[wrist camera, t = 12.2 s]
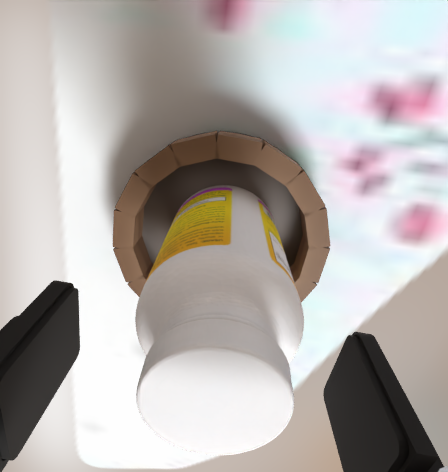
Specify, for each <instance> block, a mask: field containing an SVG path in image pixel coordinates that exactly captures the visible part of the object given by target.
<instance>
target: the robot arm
mask: <svg viewBox="0 0 448 472" xmlns="http://www.w3.org/2000/svg"><path fill="white" fill-rule="evenodd" d="M79 350H80V336H79V300H78V289H76V288H74V286H73V284H72V283H67V282H61V281H53V282H51V283H50V285H48V286H47V287H46V289H45V290H44V291H43V292H42V293H41V294H40V295H39V296H38V297H37V298H36V299H35V300H34V301H33V302H32V303H31V304H30V305H29V306H28V307H27V308H26V309H25V310H24V311H23V312H22V313H21V315H19V316H16V317H14V318H13V319H11V320H10V321H9V322H8V323H7V324H6V325H5V326H4V327H3V328H2V329H1V330H0V472H2V470H3V468H4V467H5V466H6V464H7V462H8V461H9V460H14V459H15V458H16V457H17V456H18V454H19V453H20V451H21V450H22V448H23V446H24V445H25V443H26V441H27V440H28V438H29V436H30V435H31V433H32V431H33V430H34V428H35V426H36V425H37V423H38V422H39V420H40V418H41V416H42V415H43V413H44V411H45V410H46V408H47V406H48V405H49V403H50V402H51V400H52V398H53V397H54V395H55V393H56V392H57V390H58V388H59V387H60V385H61V383H62V382H63V380H64V378H65V377H66V375H67V373H68V372H69V370H70V369H71V367H72V365H73V364H74V362H75V360H76V358H77V356H78V354H79ZM324 401H325V404H326V408H327V412H328V415H329V419H330V423H331V427H332V431H333V434H334V438H335V441H336V445H337V449H338V453H339V456H340V460H341V464H342V468H343V471H344V472H448V467H444V466H443V464H442V462H441V460H440V458H439V456H438V454H437V452H436V450H435V448H434V447H433V445H432V443H431V441H430V439H429V437H428V435H427V434H426V432H425V430H424V428H423V426H422V424H421V423H420V421H419V419H418V417H417V415H416V413H415V412H414V409H413V408H412V406H411V404H410V402H409V400H408V398H407V396H406V394H405V393H404V391H403V389H402V387H401V385H400V383H399V381H398V380H397V378H396V376H395V374H394V372H393V370H392V368H391V367H390V365H389V363H388V361H387V359H386V358H385V355H384V354H383V352H382V350H381V349H380V346H379V344H378V342H377V341H376V339H375V337H374V336H373V335H371V334H365V333H360V332H354V333H353V334H352V335H349V336H348V337H347V338H346V341H345V343H344V345H343V347H342V350H341V352H340V354H339V356H338V359H337V361H336V363H335V365H334V368H333V370H332V372H331V374H330V377H329V379H328V381H327V383H326V386H325V388H324Z"/></svg>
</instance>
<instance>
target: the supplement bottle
mask: <svg viewBox="0 0 448 472" xmlns="http://www.w3.org/2000/svg"><path fill="white" fill-rule="evenodd" d="M303 327H304V316H303V309H302V305H301V301H300V298H299V295H298V292H297V289H296V286H295V283H294V280H293V277H292V274H291V271H290V268H289V265H288V262H287V258H286V255H285V252H284V249H283V246H282V243H281V239H280V236H279V233H278V230H277V227H276V224H275V221H274V219H273V217H272V214H271V212H270V211H269V209H268V208H267V206H266V205H265V204H264V202H263V201H262V200H261V199H259V198H258V197H257V196H256V195H254V194H253V193H251V192H249V191H247V190H245V189H243V188H240V187H236V186H229V185H218V186H212V187H208V188H205V189H202V190H200V191H198V192H197V193H195V194H193V195H192V196H191V197H189V198H188V199H187V200H186V201H185V202H184V203H183V205H182V206H181V207H180V209H179V210H178V212H177V214H176V216H175V218H174V220H173V222H172V225H171V227H170V229H169V231H168V233H167V235H166V238H165V240H164V242H163V245H162V247H161V249H160V251H159V253H158V256H157V258H156V260H155V263H154V265H153V267H152V269H151V271H150V273H149V276H148V278H147V280H146V282H145V285H144V287H143V290H142V292H141V295H140V298H139V301H138V304H137V309H136V331H137V336H138V339H139V343H140V345H141V347H142V349H143V351H144V353H145V355H146V359H145V362H144V366H143V369H142V372H141V376H140V379H139V383H138V387H137V405H138V409H139V412H140V415H141V417H142V419H143V420H144V422H145V423H146V425H147V426H148V427H149V428H150V429H151V430H152V431H153V432H154V433H155V434H156V435H157V436H159V437H160V438H162V439H163V440H164V441H166V442H168V443H170V444H172V445H173V446H176V447H178V448H181V449H183V450H187V451H190V452H195V453H199V454H207V455H232V454H238V453H243V452H247V451H250V450H254V449H256V448H258V447H261V446H263V445H265V444H266V443H268V442H270V441H271V440H273V439H274V438H276V437H277V436H278V435H279V434H280V433H281V432H282V431H283V430H284V428H285V427H286V425H287V424H288V422H289V420H290V418H291V416H292V412H293V408H294V394H293V388H292V383H291V375H290V367H289V363H290V362H291V360H292V359H293V358H294V356H295V354H296V352H297V350H298V348H299V346H300V343H301V340H302V335H303Z"/></svg>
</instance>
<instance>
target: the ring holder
mask: <svg viewBox="0 0 448 472" xmlns="http://www.w3.org/2000/svg"><path fill="white" fill-rule="evenodd" d="M218 185H229V186H236V187H240V188H243V189H245V190H247V191H249V192H251V193H253V194H254V195H256V196H257V197H258V198H259V199H261V200H262V201H263V202H264V204H265V205H266V206H267V208H268V209H269V211H270V212H271V214H272V217H273V219H274V221H275V224H276V227H277V230H278V233H279V236H280V239H281V243H282V246H283V249H284V252H285V255H286V258H287V262H288V265H289V268H290V271H291V274H292V277H293V280H294V283H295V286H296V289H297V292H298V295H299V298H300V301H301V302H302V301H303V300H304V299H305V298H306V297H307V296H308V294H309V293H310V292H311V291H312V290H313V289H314V288H315V287H316V286H317V284H316V282H317V283H318V282H319V279H320V276H321V274H322V271H323V268H324V265H325V262H326V259H327V256H328V253H329V250H330V248H329V246H330V238H329V228H328V219H327V209H326V208H325V204H324V203H323V201H322V199H321V198H320V196H319V194H318V193H317V191H316V189H315V188H314V186H313V184H312V183H311V181H310V179H309V178H308V176H307V174H306V173H305V171H304V170H303V169H302V168H301V167H300V166H299V164H298V163H297V162H295V161H294V160H293V159H291V158H290V157H288V156H287V155H285V154H284V153H283V152H281V151H280V150H279V149H277V148H276V147H274V146H272V145H271V144H269V143H268V142H266V141H265V140H263V141H262V140H261V138H256V137H252V136H248V135H244V134H240V133H232V132H224V131H220V132H217V131H214V132H209V133H203V134H198V135H194V136H191V137H188V138H183V139H179V140H177V141H174V142H173V143H171V144H170V145H168V146H167V147H166V148H164V149H163V150H162V151H160V152H159V153H158V154H156V155H155V156H154V157H152V158H151V159H150V160H148V161H147V162H146V163H144V164H143V165H142V166H141V167H139V168H138V169H137V170H135V172H134V173H133V174H132V176H131V177H130V179H129V181H128V183H127V185H126V187H125V189H124V191H123V193H122V195H121V197H120V199H119V201H118V202H117V204H116V206H115V208H116V209H115V210H114V225H113V247H115V248H114V249H113V250H114V253H115V255H116V258H117V260H118V263H119V266H120V268H121V271H122V273H123V276H124V278H125V281H126V282H129V283H128V285H129V287H130V288H131V289H132V290H133V291H134V292H135V293H136V294H137V295H138V296H139V297H140V295H141V292H142V290H143V287H144V285H145V282H146V280H147V278H148V276H149V273H150V271H151V269H152V267H153V265H154V263H155V260H156V258H157V256H158V253H159V251H160V249H161V247H162V245H163V242H164V240H165V238H166V235H167V233H168V231H169V229H170V227H171V225H172V222H173V220H174V218H175V216H176V214H177V212H178V210H179V209H180V207H181V206H182V205H183V203H184V202H185V201H186V200H187V199H188V198H189V197H191V196H192V195H193V194H195V193H197V192H198V191H200V190H202V189H205V188H208V187H212V186H218Z"/></svg>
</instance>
